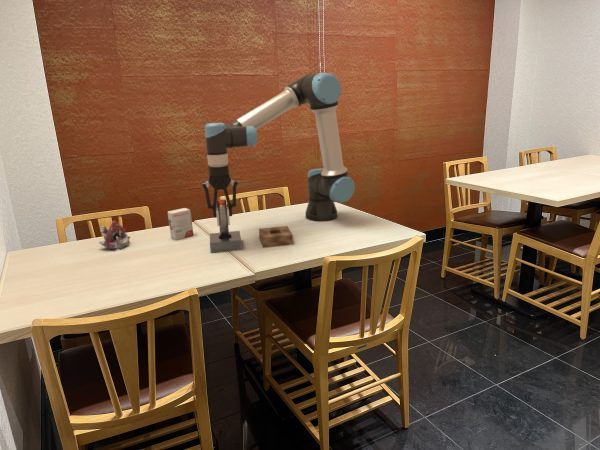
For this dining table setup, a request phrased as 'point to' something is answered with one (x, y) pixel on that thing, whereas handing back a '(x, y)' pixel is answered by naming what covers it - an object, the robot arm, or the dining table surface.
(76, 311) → the dining table surface
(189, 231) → the ink box
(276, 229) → the mount
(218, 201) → the lock pin
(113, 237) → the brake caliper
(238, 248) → the dock
